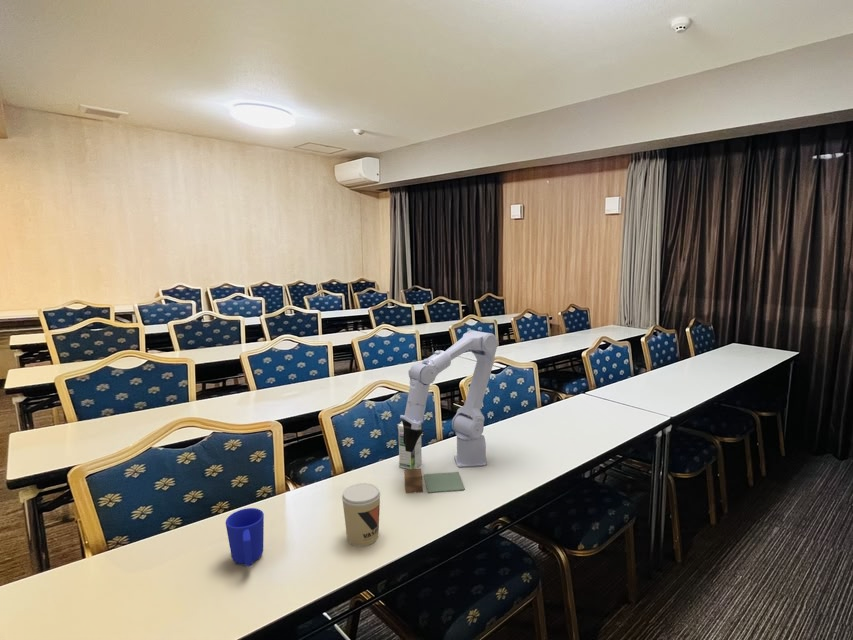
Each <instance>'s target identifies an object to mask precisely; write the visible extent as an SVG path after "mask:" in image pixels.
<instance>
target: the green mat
mask: <svg viewBox="0 0 853 640" xmlns="http://www.w3.org/2000/svg"><path fill="white" fill-rule="evenodd" d="M423 476H424V481H425V485H426V489H427V494H436V493H447V492H448V493H449V492H450V493H451V492H463V491H464V490H465V491H466V487H465V485H464V483H463V479H462V477H461V474H460V472H459V471H452V472H451V471H450V472H448V471H447V472H439V473H438V472H435V473H424V474H423ZM465 491H464V492H465Z"/></svg>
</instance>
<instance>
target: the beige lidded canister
mask: <svg viewBox="0 0 853 640" xmlns="http://www.w3.org/2000/svg"><path fill="white" fill-rule="evenodd" d="M380 498H381V491H380V489H379V487H377V485H375V484H372V483H367V482H359V483H355V484H351V485H349V486H348V487H346V488H345V489H344V490H343V492H342V494H341V500H342V507H343V515H344V522H345V523H344V525H345V530H346V538H347V542H348V543H349V544H351V545H352V546H355V547H366V546H369V545H372V544H374V543H375V542H376V541H377V540H378V538H379V534H380V533H379V531H380V529H379V528H380V507H381V506H380V504H381V499H380Z"/></svg>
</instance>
